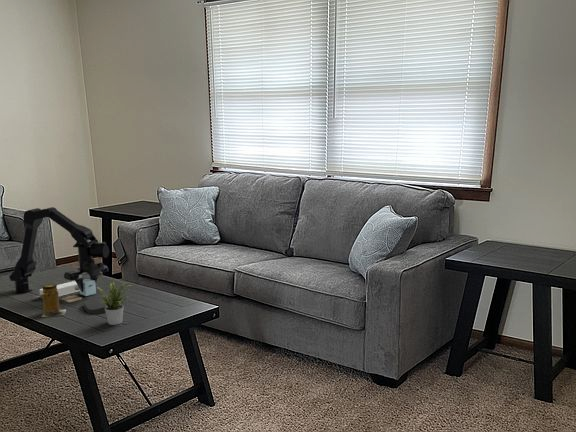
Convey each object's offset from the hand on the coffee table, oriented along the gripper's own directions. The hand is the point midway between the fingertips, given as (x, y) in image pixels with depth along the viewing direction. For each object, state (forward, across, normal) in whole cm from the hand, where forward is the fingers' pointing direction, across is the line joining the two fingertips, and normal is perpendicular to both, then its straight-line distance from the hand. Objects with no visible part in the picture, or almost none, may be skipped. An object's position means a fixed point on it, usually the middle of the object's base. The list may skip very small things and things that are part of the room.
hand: (87, 290), depth 246 cm
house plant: (+2, -12, -41) cm, 43 cm away
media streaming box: (+3, -5, -20) cm, 21 cm away
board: (+2, -8, 0) cm, 8 cm away
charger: (+1, 0, +1) cm, 2 cm away
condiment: (+2, -22, -11) cm, 25 cm away
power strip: (+2, -8, +10) cm, 13 cm away
